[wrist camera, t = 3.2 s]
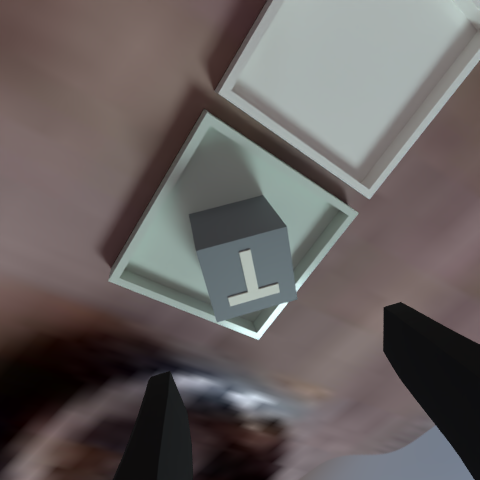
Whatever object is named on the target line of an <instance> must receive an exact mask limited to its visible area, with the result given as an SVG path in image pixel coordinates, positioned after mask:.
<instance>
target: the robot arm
mask: <svg viewBox="0 0 480 480" xmlns="http://www.w3.org/2000/svg"><path fill="white" fill-rule="evenodd" d="M383 351H384V353H385V355H386V357H387V358H388V360H389V362H390V363H391V365H392V367H393V368H394V370H395V372H396V373H397V375H398V376H399V378H400V379H401V381H402V382H403V383H404V385H405V386H406V387H407V389H408V390H409V391H410V393H411V394H412V395H413V396H414V398H415V399H416V400H417V402H418V403H419V404H420V405H421V407H422V408H423V409H424V411H425V412H426V413H427V414H428V416H429V417H430V418H431V420H432V421H433V422H434V423H435V425H436V426H437V427H438V428H439V430H440V431H441V432H442V434H443V435H444V436H445V437H446V439H447V440H448V441H449V443H450V444H451V445H452V447H453V448H454V449H455V451H456V452H457V454H458V455H459V456H460V458H461V459H462V461H463V463H464V464H465V466H466V467H467V469H468V470H469V472H470V473H471V475H472V476H473V478H474V479H475V480H480V344H478V343H476V342H474V341H472V340H470V339H468V338H466V337H464V336H462V335H460V334H458V333H456V332H454V331H453V330H451V329H449V328H447V327H445V326H443V325H441V324H440V323H438V322H436V321H434V320H432V319H431V318H429V317H427V316H425V315H423V314H422V313H420V312H418V311H416V310H414V309H413V308H411V307H409V306H407V305H405V304H403V303H402V302H400V303H396V304H393V305H389V306H386V307H384V337H383ZM113 480H193V465H192V444H191V436H190V429H189V422H188V415H187V411H186V408H185V406H184V403H183V401H182V399H181V396H180V394H179V391H178V389H177V387H176V384H175V382H174V379H173V377H172V375H171V372H170V371H169V372H166V373H162V374H159V375H156V376H152V377H151V378H150V379H149V381H148V384H147V388H146V391H145V395H144V398H143V401H142V405H141V408H140V411H139V414H138V417H137V420H136V423H135V425H134V428H133V431H132V433H131V436H130V439H129V442H128V444H127V447H126V450H125V452H124V455H123V457H122V459H121V462H120V464H119V466H118V469H117V471H116V474H115V476H114V478H113Z"/></svg>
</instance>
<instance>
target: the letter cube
mask: <svg viewBox="0 0 480 480" xmlns="http://www.w3.org/2000/svg"><path fill="white" fill-rule="evenodd" d="M189 218H190V223H191V228H192V234H193V239H194V244H195V249H196V253H197V257H198V260H199V263H200V267H201V270H202V274H203V277H204V280H205V284H206V287H207V291H208V294H209V297H210V301H211V304H212V308H213V311H214V314H215V318H216V321H217V322H220V321H224V320H227V319H231V318H234V317H238V316H241V315H245V314H248V313H252V312H255V311H258V310H262V309H265V308H269V307H272V306H276V305H279V304H283V303H286V302H290V301H293V300H297V293H296V286H295V279H294V272H293V265H292V258H291V251H290V244H289V237H288V230H287V226H286V225H285V223H284V222H283V221H282V219H281V218H280V217H279V215H278V214H277V213H276V211H275V210H274V209H273V207H272V206H271V205H270V203H269V202H268V201H267V199H266V198H265V197H264V195H261V196H257V197H253V198H249V199H246V200H242V201H238V202H234V203H230V204H226V205H223V206H219V207H215V208H211V209H207V210H203V211H199V212H196V213H192V214H189Z"/></svg>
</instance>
